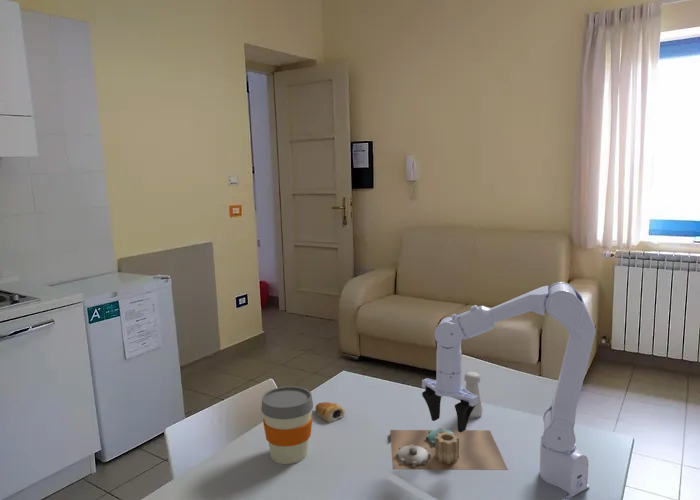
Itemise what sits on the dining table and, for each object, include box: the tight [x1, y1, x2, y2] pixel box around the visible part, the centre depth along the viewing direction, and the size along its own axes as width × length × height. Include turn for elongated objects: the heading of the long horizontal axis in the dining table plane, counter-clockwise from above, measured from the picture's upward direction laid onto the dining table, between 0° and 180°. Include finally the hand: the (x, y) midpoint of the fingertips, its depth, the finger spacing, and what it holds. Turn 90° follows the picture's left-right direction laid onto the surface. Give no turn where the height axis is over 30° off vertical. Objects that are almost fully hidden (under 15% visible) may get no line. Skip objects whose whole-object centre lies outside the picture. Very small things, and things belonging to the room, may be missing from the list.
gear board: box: [389, 427, 509, 471], centre depth 125 cm, size 26×18×5 cm
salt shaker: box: [463, 371, 484, 419], centre depth 143 cm, size 6×6×13 cm
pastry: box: [315, 401, 346, 423], centre depth 147 cm, size 9×7×4 cm
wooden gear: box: [435, 432, 459, 464], centre depth 121 cm, size 6×6×5 cm
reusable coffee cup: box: [261, 385, 314, 465], centre depth 126 cm, size 13×13×15 cm
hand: (448, 424), depth 120 cm, fingers open, 7 cm apart
